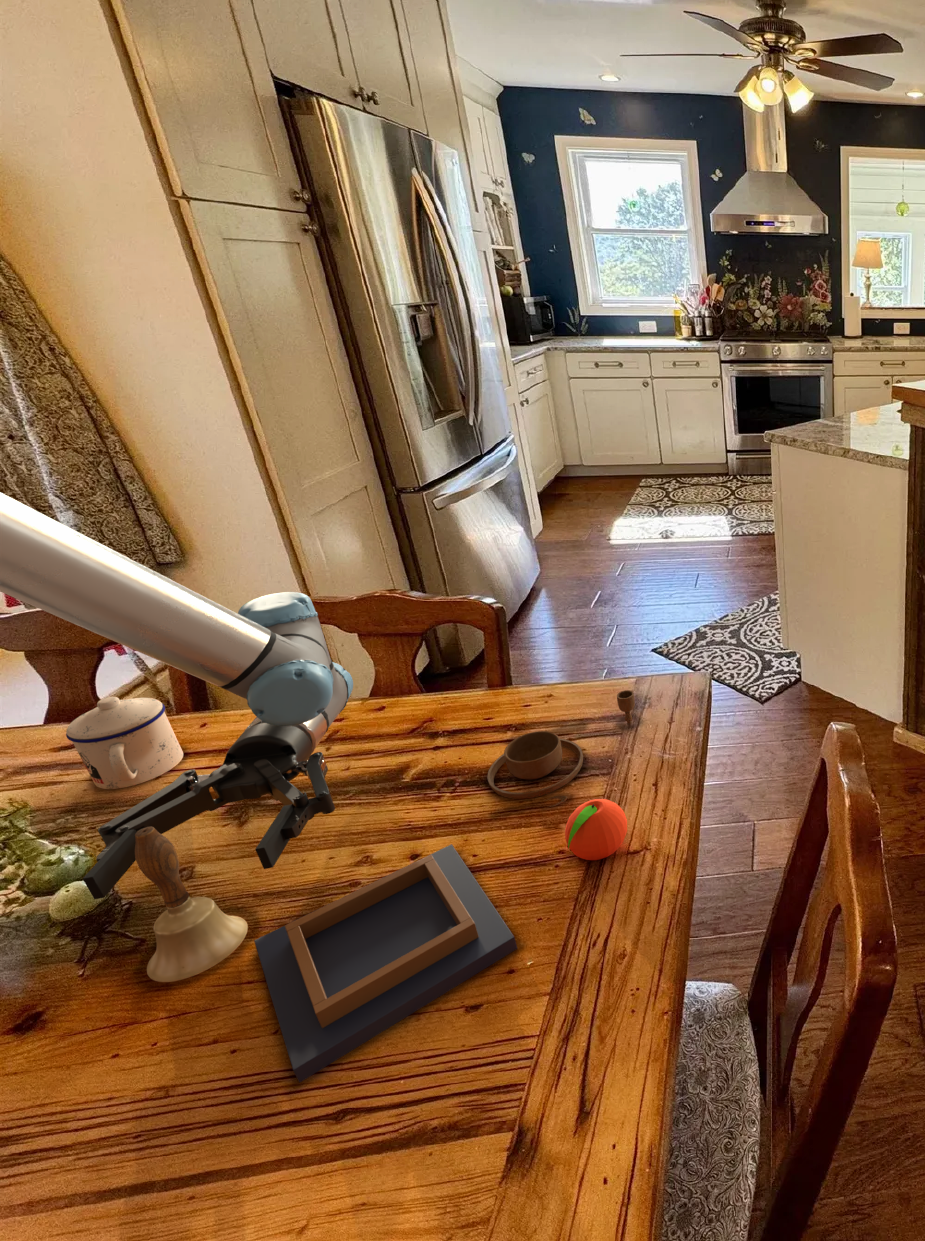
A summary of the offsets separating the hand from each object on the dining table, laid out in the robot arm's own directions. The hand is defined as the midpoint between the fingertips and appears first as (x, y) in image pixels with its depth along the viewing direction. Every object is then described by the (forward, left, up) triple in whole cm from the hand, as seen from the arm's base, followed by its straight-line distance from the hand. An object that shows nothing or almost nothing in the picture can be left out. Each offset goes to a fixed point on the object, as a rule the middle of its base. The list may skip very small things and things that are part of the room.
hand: (180, 873), depth 70 cm
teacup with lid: (-38, -3, -9) cm, 40 cm away
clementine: (+18, +33, -9) cm, 39 cm away
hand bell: (+2, -1, -9) cm, 9 cm away
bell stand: (+16, +12, -9) cm, 22 cm away
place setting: (0, +38, -9) cm, 39 cm away
